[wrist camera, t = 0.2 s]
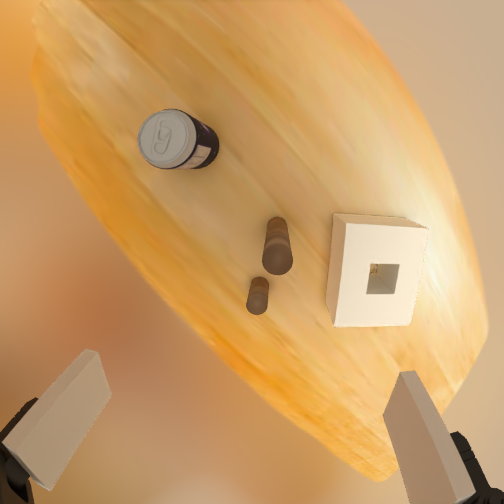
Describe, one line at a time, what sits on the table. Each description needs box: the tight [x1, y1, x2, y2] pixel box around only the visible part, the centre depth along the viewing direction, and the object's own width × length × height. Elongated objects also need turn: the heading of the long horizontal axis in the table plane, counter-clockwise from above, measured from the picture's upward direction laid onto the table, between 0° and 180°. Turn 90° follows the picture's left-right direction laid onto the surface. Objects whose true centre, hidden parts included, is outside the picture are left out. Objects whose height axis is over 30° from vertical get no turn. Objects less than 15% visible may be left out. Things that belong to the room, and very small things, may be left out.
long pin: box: [262, 217, 293, 275], centre depth 29 cm, size 2×2×14 cm
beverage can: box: [138, 109, 219, 169], centre depth 28 cm, size 6×6×12 cm
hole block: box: [325, 213, 429, 327], centre depth 33 cm, size 12×10×7 cm
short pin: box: [246, 277, 269, 315], centre depth 36 cm, size 2×2×6 cm
